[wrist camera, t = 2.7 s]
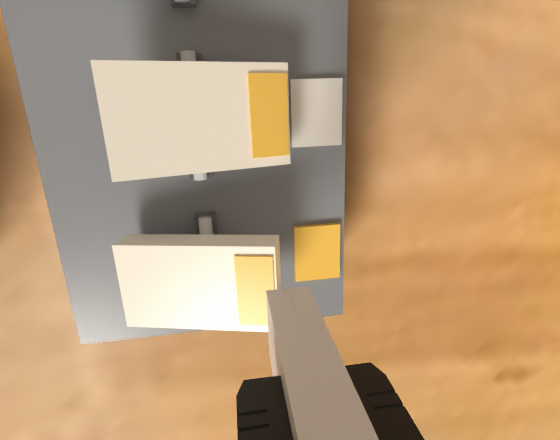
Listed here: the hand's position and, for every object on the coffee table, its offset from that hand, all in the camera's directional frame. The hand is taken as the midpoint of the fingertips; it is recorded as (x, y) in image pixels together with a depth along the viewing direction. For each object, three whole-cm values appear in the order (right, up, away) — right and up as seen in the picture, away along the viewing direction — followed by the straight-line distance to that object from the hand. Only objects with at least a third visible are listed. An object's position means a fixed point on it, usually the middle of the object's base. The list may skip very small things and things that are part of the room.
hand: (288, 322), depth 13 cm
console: (-5, +10, +9) cm, 14 cm away
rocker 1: (-4, +8, +2) cm, 9 cm away
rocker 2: (-4, +1, +5) cm, 6 cm away
